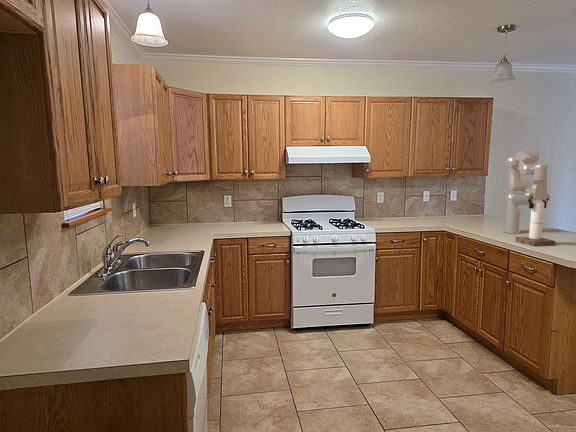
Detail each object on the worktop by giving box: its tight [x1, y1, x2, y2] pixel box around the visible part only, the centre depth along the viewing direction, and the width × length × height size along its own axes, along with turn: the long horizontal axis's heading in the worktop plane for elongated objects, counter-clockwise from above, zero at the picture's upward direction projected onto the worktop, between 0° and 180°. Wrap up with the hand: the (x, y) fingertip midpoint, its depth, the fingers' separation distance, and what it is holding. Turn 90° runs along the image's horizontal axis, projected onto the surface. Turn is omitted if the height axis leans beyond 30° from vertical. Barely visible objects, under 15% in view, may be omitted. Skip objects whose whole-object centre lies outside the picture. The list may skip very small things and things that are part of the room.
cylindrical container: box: [528, 201, 545, 239], centre depth 253 cm, size 7×7×25 cm
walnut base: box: [515, 236, 556, 247], centre depth 254 cm, size 16×16×4 cm
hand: (537, 208), depth 252 cm, fingers open, 9 cm apart
